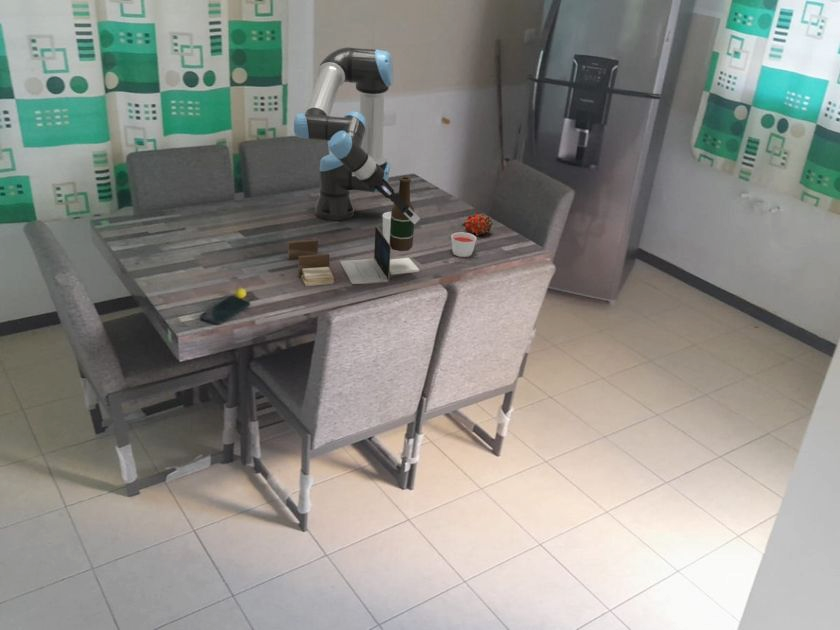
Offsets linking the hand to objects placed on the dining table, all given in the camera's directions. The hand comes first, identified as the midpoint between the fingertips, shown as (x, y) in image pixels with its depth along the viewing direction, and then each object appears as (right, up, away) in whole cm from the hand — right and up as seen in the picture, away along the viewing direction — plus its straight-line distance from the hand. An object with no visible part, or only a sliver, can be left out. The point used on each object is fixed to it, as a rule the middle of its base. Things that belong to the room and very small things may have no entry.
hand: (412, 216), depth 261 cm
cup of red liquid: (+18, -11, +22) cm, 30 cm away
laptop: (-16, -19, +3) cm, 25 cm away
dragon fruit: (+24, -2, +40) cm, 46 cm away
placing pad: (-4, -16, +8) cm, 19 cm away
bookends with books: (-34, -18, +1) cm, 38 cm away
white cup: (-8, -6, +28) cm, 29 cm away
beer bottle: (-4, -10, +4) cm, 11 cm away
